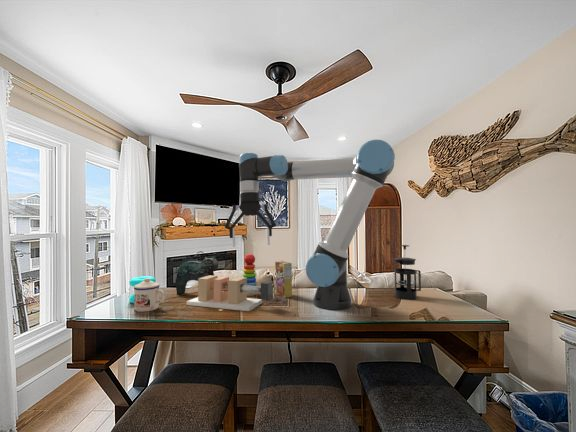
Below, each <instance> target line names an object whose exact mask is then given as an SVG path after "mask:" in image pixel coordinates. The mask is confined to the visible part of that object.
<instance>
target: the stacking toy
mask: <svg viewBox="0 0 576 432" xmlns="http://www.w3.org/2000/svg"><path fill="white" fill-rule="evenodd" d="M255 261H256V257H255V255H254V254H252V253H247V254H246V255H245V256H244V263H245V264H244V266H243V271H242V272H243V274H242V277H245V278H247V285H249V286H258V282H257V277H256V276H257V274H256V269H255V268H256V265H255V264H254V263H255ZM258 293H259V292H247V297H252V296H256V295H258Z"/></svg>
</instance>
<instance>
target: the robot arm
mask: <svg viewBox="0 0 576 432" xmlns="http://www.w3.org/2000/svg"><path fill="white" fill-rule="evenodd" d="M395 158H396V156H395V151H394V149H393V148H392V146H391V144H389V143H388V142H387V141H385V140H382V139H372V140H371V139H370V140H367V141H366V142H364V143H363V144H362V145H361V146H360V147H359V149H358V152H357V154H356V155H355V156H354V157H348V158H332V159H331V158H330V159H318V160H316V159H315V160H302V161H289V162H288V159H287V157H286V156H285V155H282V154H279V155H277V154H276V155H270V156H262V157H258V154H257V153H254V152H244V153H241V154H240V156H239V158H238V159H239V161H238V162H239V163H238V169H239V192H240V194H239V197H240V198H239V199H240V200H239V201H240V203H239V205H236V204H232V206H231V207H232V211H231V213H230V214H229V216H228V218H227V221H226V223H225V225H224V229H227V230H228V231H229V238H230V239H232V247H234V248H235V247H236V234H235V233H236V232H235V229H234V228H235V227H236V225H237V224H238V223H239V222H240V221H241V219H242V218H243V217H244V216H245V217H249V216H252V217H253V216H254V217H255V216H257V217H258V218H259V220H261V222H262V223H263V224H264V225H265V226H266V227H267V228H266V229H265V233H266V234H265V235H266V245H267V246H269V245H271V243H270V237H272V235H273V230H272V229H273V228H274V227H276V226H277V224H276V222H275V220H274V218H273V215H272V214H271V213H270V211H269V208H268V204H267V203H264V204H260V193H259V191H260V187H259V186H260V185H259V184H260V183H259V180H260V179H259V178H261V177H273V178H275V179H277V180H279V181H282V182H290V181H293V180H312V179H313V180H315V179H338V178H339V179H340V178H341V179H342V178H352V181H351V183H350V185H349V187H348V189H347V192H346V193H345V196H344V198H343V200H342V202H341V204H340V207H339V208H338V211H337V213H336V216H335V217H334V220H333V222H332V224H331V226H330V228H329V230H328V232H327V234H326V236H325V239H324V240H323V241H320V242H318V244H317V246H316V248H315V250H314V253H313V255H311V256H310V257H309V258H308V260H307V261H306V265H305V273H306V277H307V278H308V280H309V281H310V282H311V283H312V284H313V285H316V289H315V293H314V296H313V305H314V306H315V307H317V308H321V309H324V310H325V309H326V310H345V309H348V308H350V307H352V306H353V305H352V303H353V302H352V297H351V294H350V291H349V288H348V281H347V280H348V279H347V277H348V274H347V273H348V272H347V271H348V268H347V267H348V265H347V264H348V263H347V262H348V259H349V255H348V250H349V246H350V245H351V243H352V241H353V239H354V236H355V234H356V232H357V230H358V228H359V225H360V224H361V221H362V220H363V218H364V215H365V213H366V211H367V209H368V206H369V205H370V202H371V200H372V199H373V196H374V195H375V192H376V190H377V189H379V188H382V187H383V186H384V184H385V182H386V180H387V178H388V176H389V175H390V174H391V173H392V171H393V170H394V166H395ZM260 209H262V210H263V211H264V213H265V215H266V217H267V219H268V220H269V221H268V220H267V219H266V218H265V217H264V216H263V215H262V213H261V212H260ZM238 210H240V211H241V213H240V214H239V215H238V216H237V218H236V219H235V220H234V222H233V223H232V224H231V222H232V219H233V217H234V215H235V213H236V212H237V211H238ZM230 224H231V225H230Z"/></svg>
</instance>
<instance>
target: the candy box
mask: <svg viewBox="0 0 576 432" xmlns="http://www.w3.org/2000/svg"><path fill="white" fill-rule="evenodd" d="M274 264H275V266H274V267H275V270H274V271H275V272H274V273H275V294H276V295H277V296H280V297H282V298H283V299H284V298H285V299H287V298H292V297H293V280H292V279H293V275H292V271H293V268H292V267H293V266H292V265H293V264H292V262H287V261H284V260H279V261H278V260H276V261H275V262H274Z"/></svg>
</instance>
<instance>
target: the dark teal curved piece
mask: <svg viewBox="0 0 576 432" xmlns="http://www.w3.org/2000/svg"><path fill="white" fill-rule="evenodd" d="M200 253H202V254H203V255H205V253H204V252H203V251H198V252H197V253H196V254H197V255H199V254H200ZM187 260H190V261H187ZM185 261H186V262H185ZM218 268H219V261H218V259H217V257H216V255H215V254H214V255H213V256H212V257H207V256H204V257H203V258H202V259H201V260H198V259H194V258H191V257H189V258H185V259H183V260H182V261H181V262H180V264H179V267H178V269H177V272H176V278H175V290H176V295H184V294H185V293H186V288H187V285H188V282H190V281H197V282H198V278H202V277H205V276H209V275H212V276H215V273H214V271H216V270H217V269H218Z"/></svg>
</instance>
